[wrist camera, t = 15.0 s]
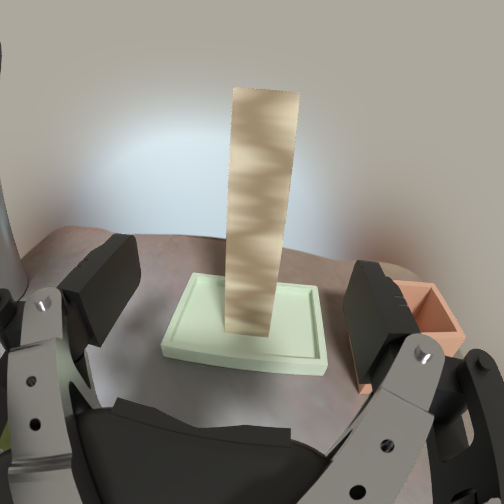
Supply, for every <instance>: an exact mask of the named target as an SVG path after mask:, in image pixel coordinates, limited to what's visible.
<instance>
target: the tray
mask: <svg viewBox="0 0 504 504" xmlns="http://www.w3.org/2000/svg"><path fill="white" fill-rule="evenodd" d="M161 349H162V353H163V356H164V357H169V358H174V359H179V360H184V361H189V362H195V363H201V364H207V365H213V366H220V367H227V368H234V369H242V370H251V371H260V372H271V373H283V374H297V375H317V376H323V375H324V372H325V370H326V368H327V366H328V362H327V353H326V345H325V337H324V330H323V322H322V315H321V309H320V302H319V295H318V289H317V286H310V285H300V284H290V283H280V282H277V286H276V292H275V299H274V305H273V312H272V318H271V324H270V330H269V337H268V338H267V337H258V336H249V335H241V334H234V333H227V332H225V276H217V275H209V274H200V273H192V276H191V278H190V280H189V282H188V284H187V286H186V288H185V291H184V293H183V295H182V297H181V299H180V302H179V304H178V306H177V308H176V310H175V313H174V315H173V317H172V319H171V322H170V324H169V326H168V329H167V331H166V333H165V335H164V338H163V340H162V342H161Z"/></svg>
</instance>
